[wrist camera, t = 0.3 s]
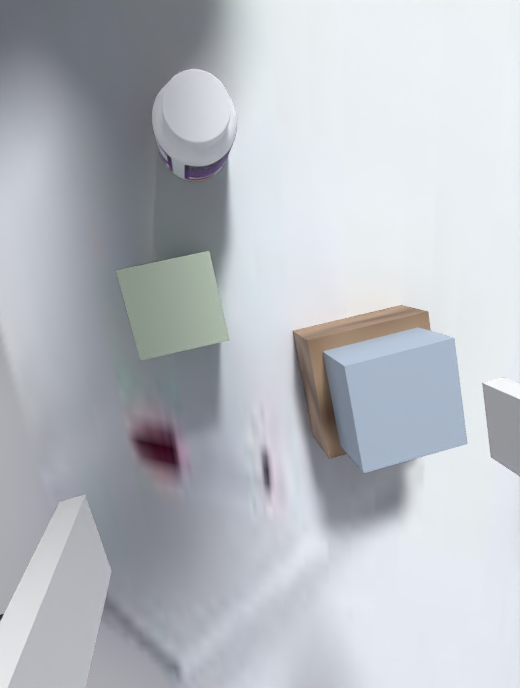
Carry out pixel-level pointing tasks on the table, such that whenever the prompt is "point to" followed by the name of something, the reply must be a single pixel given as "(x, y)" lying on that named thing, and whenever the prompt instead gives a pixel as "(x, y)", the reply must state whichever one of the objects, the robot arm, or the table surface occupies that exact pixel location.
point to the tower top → (396, 397)
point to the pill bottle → (194, 124)
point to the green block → (173, 305)
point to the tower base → (335, 336)
